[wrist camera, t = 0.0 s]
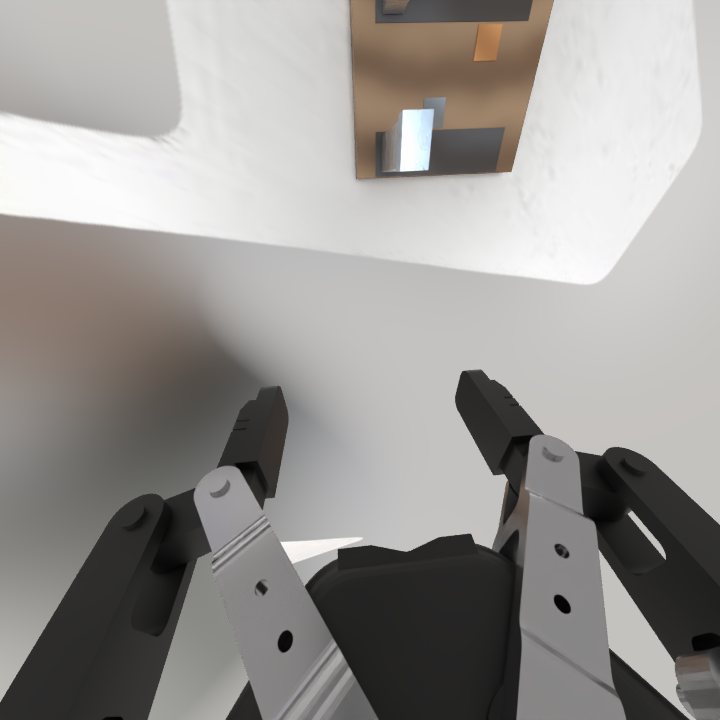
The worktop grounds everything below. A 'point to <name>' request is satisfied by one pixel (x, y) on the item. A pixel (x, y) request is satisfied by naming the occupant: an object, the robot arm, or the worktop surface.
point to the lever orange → (394, 6)
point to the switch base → (446, 78)
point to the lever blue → (408, 142)
